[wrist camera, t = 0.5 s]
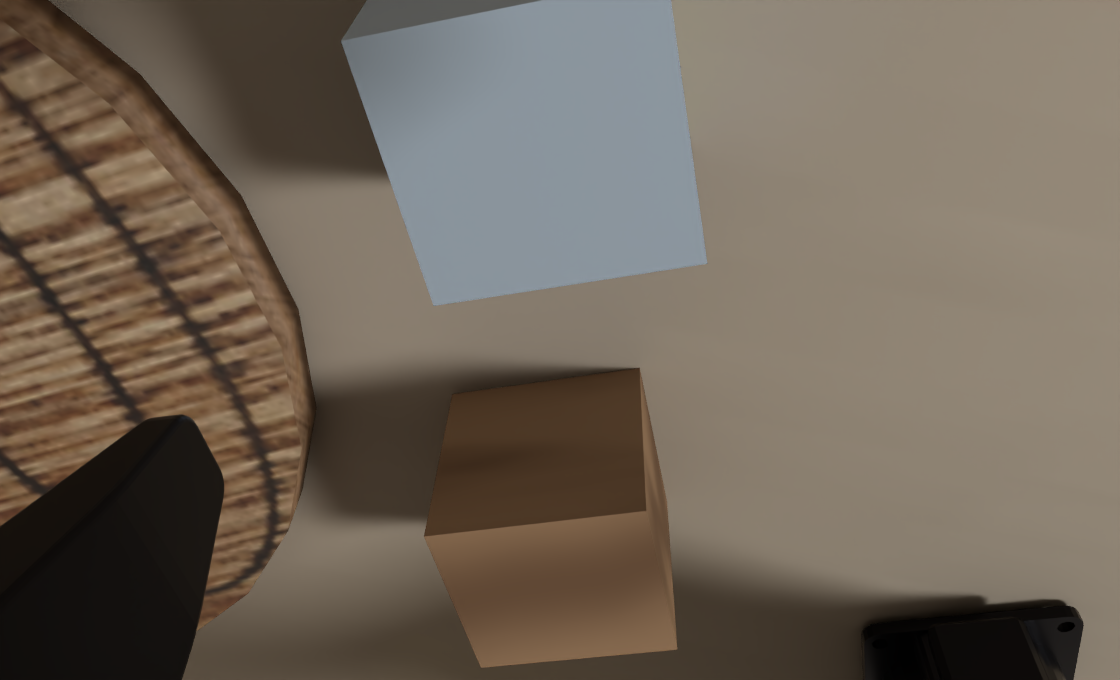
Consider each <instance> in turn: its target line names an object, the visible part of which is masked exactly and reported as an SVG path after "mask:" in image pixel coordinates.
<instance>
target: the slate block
mask: <svg viewBox="0 0 1120 680" xmlns="http://www.w3.org/2000/svg"><path fill="white" fill-rule="evenodd" d="M341 43H342V46H343V48H344V51H345V54H346V57H347V60H348V63H349V66H350V68H351V71H352V74H353V77H354V80H355V83H356V86H357V88H358V91H359V94H360V97H361V100H362V103H363V106H364V108H365V111H366V114H367V117H368V120H369V123H370V125H371V128H372V131H373V134H374V137H375V140H376V143H377V145H378V148H379V151H380V154H381V157H382V160H383V163H384V165H385V168H386V171H387V174H388V177H389V180H390V182H391V185H392V188H393V191H394V194H395V197H396V200H397V202H398V205H399V208H400V211H401V214H402V217H403V220H404V222H405V225H406V228H407V231H408V234H409V237H410V240H411V242H412V245H413V248H414V251H415V254H416V257H417V259H418V262H419V265H420V268H421V271H422V274H423V277H424V279H425V282H426V285H427V288H428V291H429V294H430V297H431V299H432V302H433V305H434V306H437V305H443V304H450V303H456V302H463V301H469V300H475V299H482V298H488V297H495V296H501V295H508V294H514V293H521V292H527V291H534V290H540V289H547V288H553V287H560V286H566V285H573V284H579V283H585V282H592V281H598V280H605V279H611V278H618V277H624V276H631V275H637V274H644V273H650V272H657V271H663V270H670V269H676V268H683V267H689V266H695V265H702V264H707V258H706V251H705V243H704V236H703V229H702V222H701V215H700V207H699V200H698V193H697V186H696V178H695V171H694V164H693V157H692V149H691V142H690V135H689V128H688V121H687V113H686V106H685V99H684V92H683V84H682V77H681V70H680V63H679V56H678V48H677V41H676V34H675V27H674V19H673V12H672V5H671V0H367V1H366V2H365V4H364V6H363V7H362V9H361V10H360V12H359V13H358V15H357V16H356V18H355V20H354V21H353V23H352V24H351V26H350V27H349V29H348V31H347V32H346V34H345V35H344V37H343V38H342V40H341Z"/></svg>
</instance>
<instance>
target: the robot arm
mask: <svg viewBox="0 0 1120 680" xmlns="http://www.w3.org/2000/svg"><path fill="white" fill-rule="evenodd" d="M223 498H224V479H223V475H222V472H221V469H220V467H219V465H218V464H217V462H216V460H215V458H214V456H213V454H212V452H211V450H210V448H209V447H208V445H207V443H206V441H205V439H204V437H203V435H202V433H201V432H200V430H199V428H198V426H197V424H196V423H195V421H194V420H193V419H191V418H190V417H189V416H186V415H183V414H178V415H169V416H161V417H153V418H149V419H146V420H144V421H143V422H141V423H140V424H138V425H137V426H136V427H134V428H133V429H132V430H130V431H129V432H128V433H126V434H125V435H123V436H122V437H121V438H119V439H118V440H117V441H115V442H114V443H113V444H111V445H110V446H108V447H107V448H106V449H104V450H103V451H102V452H100V453H99V454H98V455H96V456H95V457H94V458H92V459H91V460H89V461H88V462H87V463H85V464H84V465H83V466H81V467H80V468H79V469H77V470H76V471H75V472H73V473H72V474H70V475H69V476H68V477H66V478H65V479H64V480H62V481H61V482H60V483H58V484H57V485H55V486H54V487H53V488H51V489H50V490H49V491H47V492H46V493H45V494H43V495H42V496H41V497H39V498H38V499H36V500H35V501H34V502H32V503H31V504H30V505H28V506H27V507H26V508H24V509H23V510H22V511H20V512H19V513H17V514H16V515H15V516H13V517H12V518H11V519H9V520H8V521H7V522H5V523H4V524H3V525H1V526H0V680H182V678H183V674H184V671H185V668H186V665H187V662H188V658H189V655H190V652H191V649H192V645H193V642H194V638H195V634H196V631H197V627H198V623H199V619H200V615H201V610H202V606H203V601H204V596H205V591H206V586H207V580H208V575H209V570H210V565H211V560H212V555H213V550H214V545H215V539H216V534H217V529H218V524H219V519H220V514H221V509H222V503H223ZM1083 626H1084V625H1083V621H1082V619H1081V617H1080V615H1079V612H1078V611H1077V610H1076V609H1075V608H1074V607H1071V606H1057V607H1046V608H1036V609H1025V610H1014V611H1004V612H993V613H983V614H972V615H961V616H951V617H940V618H929V619H919V620H908V621H898V622H887V623H877V624H872V625H870V626H868V627H866V628H865V629H864V630H863V631H862V634H861V639H862V668H863V680H1073V679H1074V673H1075V668H1076V663H1077V657H1078V652H1079V647H1080V642H1081V636H1082V631H1083Z"/></svg>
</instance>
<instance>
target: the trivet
mask: <svg viewBox="0 0 1120 680" xmlns="http://www.w3.org/2000/svg"><path fill="white" fill-rule="evenodd" d="M178 414H183V415H186V416H189V417H190V418H191V419H193V420H194V421H195V423H196V424H197V426H198V428H199V430H200V432H201V433H202V435H203V437H204V439H205V441H206V443H207V445H208V447H209V448H210V450H211V452H212V454H213V456H214V458H215V460H216V462H217V464H218V465H219V467H220V469H221V472H222V475H223V479H224V498H223V503H222V509H221V514H220V519H219V524H218V529H217V534H216V539H215V545H214V550H213V555H212V560H211V565H210V570H209V575H208V580H207V586H206V591H205V596H204V601H203V606H202V610H201V615H200V619H199V623H198V627H197V631H198V630H199V629H200V628H202V627H203V626H204V625H206V624H207V623H208V622H210V621H211V620H213V619H214V618H215V617H217V616H218V615H219V614H221V613H222V612H223V611H225V610H226V609H228V608H229V607H230V606H232V605H233V604H234V603H236V602H237V601H238V600H240V599H241V598H242V597H244V596H245V595H247V594H248V593H249V591H250V590H251V588H252V586H253V585H254V583H255V582H256V580H257V579H258V577H259V575H260V574H261V572H262V571H263V569H264V568H265V566H266V564H267V563H268V561H269V560H270V558H271V557H272V555H273V553H274V552H275V550H276V549H277V547H278V546H279V544H280V542H281V541H282V539H283V538H284V536H285V535H286V533H287V531H288V529H289V526H290V524H291V521H292V518H293V515H294V512H295V509H296V507H297V504H298V501H299V498H300V495H301V492H302V489H303V484H304V478H305V472H306V466H307V460H308V455H309V449H310V443H311V437H312V431H313V426H314V420H315V414H316V403H315V398H314V392H313V387H312V381H311V376H310V370H309V365H308V359H307V354H306V348H305V343H304V337H303V332H302V327H301V321H300V316H299V310H298V308H297V306H296V304H295V302H294V300H293V298H292V296H291V294H290V292H289V290H288V288H287V286H286V284H285V282H284V280H283V278H282V276H281V274H280V272H279V270H278V268H277V266H276V264H275V262H274V260H273V258H272V256H271V254H270V252H269V250H268V248H267V246H266V244H265V242H264V240H263V238H262V236H261V234H260V232H259V230H258V228H257V226H256V224H255V222H254V220H253V218H252V216H251V214H250V212H249V210H248V208H247V206H246V204H245V202H244V200H243V198H242V196H241V195H240V193H239V192H238V191H237V190H236V189H235V187H234V186H233V185H232V184H231V183H230V181H229V180H228V179H227V178H226V177H225V175H224V174H223V173H222V172H221V171H220V169H219V168H218V167H217V166H216V165H215V163H214V162H213V161H212V160H211V159H210V157H209V156H208V155H207V154H206V153H205V152H204V150H203V149H202V148H201V147H200V146H199V144H198V143H197V142H196V141H195V140H194V138H193V137H192V136H191V135H190V134H189V132H188V131H187V130H186V129H185V128H184V126H183V125H182V124H181V123H180V122H179V120H178V119H177V118H176V117H175V116H174V114H173V113H172V112H171V111H170V110H169V108H168V107H167V106H166V105H165V104H164V102H163V101H162V100H161V99H160V98H159V96H158V95H157V94H156V93H155V92H154V90H153V89H152V88H151V87H150V86H149V84H148V83H147V82H146V81H145V80H144V78H143V77H142V76H141V75H140V74H139V73H138V72H137V71H135V70H134V69H133V68H132V67H131V66H129V65H128V64H127V63H126V62H124V61H123V60H122V59H121V58H119V57H118V56H117V55H116V54H114V53H113V52H112V51H111V50H109V49H108V48H107V47H106V46H104V45H103V44H102V43H101V42H99V41H98V40H97V39H96V38H94V37H93V36H92V35H91V34H89V33H88V32H87V31H86V30H85V29H83V28H82V27H81V26H80V25H78V24H77V23H76V22H75V21H73V20H72V19H71V18H70V17H68V16H67V15H66V14H65V13H63V12H62V11H61V10H60V9H58V8H57V7H56V6H55V5H53V4H52V3H51V2H50V1H48V0H0V526H1V525H3V524H4V523H5V522H7V521H8V520H9V519H11V518H12V517H13V516H15V515H16V514H17V513H19V512H20V511H22V510H23V509H24V508H26V507H27V506H28V505H30V504H31V503H32V502H34V501H35V500H36V499H38V498H39V497H41V496H42V495H43V494H45V493H46V492H47V491H49V490H50V489H51V488H53V487H54V486H55V485H57V484H58V483H60V482H61V481H62V480H64V479H65V478H66V477H68V476H69V475H70V474H72V473H73V472H75V471H76V470H77V469H79V468H80V467H81V466H83V465H84V464H85V463H87V462H88V461H89V460H91V459H92V458H94V457H95V456H96V455H98V454H99V453H100V452H102V451H103V450H104V449H106V448H107V447H108V446H110V445H111V444H113V443H114V442H115V441H117V440H118V439H119V438H121V437H122V436H123V435H125V434H126V433H128V432H129V431H130V430H132V429H133V428H134V427H136V426H137V425H138V424H140V423H141V422H143V421H144V420H146V419H149V418H153V417H161V416H169V415H178Z"/></svg>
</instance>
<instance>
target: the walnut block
mask: <svg viewBox="0 0 1120 680" xmlns="http://www.w3.org/2000/svg"><path fill="white" fill-rule="evenodd" d="M424 538H425V540H426V542H427V545H428V547H429V549H430V551H431V554H432V556H433V558H434V561H435V563H436V565H437V568H438V570H439V572H440V574H441V577H442V579H443V581H444V584H445V586H446V588H447V591H448V593H449V595H450V598H451V600H452V602H453V604H454V607H455V609H456V611H457V614H458V616H459V618H460V621H461V623H462V625H463V627H464V630H465V632H466V634H467V637H468V639H469V641H470V644H471V646H472V648H473V650H474V653H475V655H476V657H477V660H478V662H479V664H480V667H481V668H484V667H495V666H506V665H517V664H527V663H538V662H549V661H560V660H571V659H582V658H592V657H603V656H614V655H625V654H636V653H647V652H657V651H668V650H677V637H676V623H675V609H674V595H673V581H672V567H671V553H670V539H669V524H668V510H667V500H666V495H665V490H664V485H663V480H662V475H661V471H660V466H659V461H658V456H657V451H656V446H655V441H654V436H653V431H652V426H651V421H650V416H649V412H648V407H647V402H646V397H645V392H644V387H643V382H642V377H641V372H640V368H636V369H629V370H622V371H615V372H607V373H600V374H593V375H586V376H579V377H572V378H564V379H557V380H550V381H543V382H536V383H528V384H521V385H514V386H507V387H500V388H493V389H485V390H478V391H471V392H464V393H457V394H452V399H451V404H450V409H449V414H448V419H447V424H446V429H445V434H444V439H443V444H442V449H441V454H440V459H439V464H438V469H437V474H436V479H435V484H434V489H433V494H432V499H431V504H430V509H429V514H428V519H427V524H426V529H425V534H424Z"/></svg>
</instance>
